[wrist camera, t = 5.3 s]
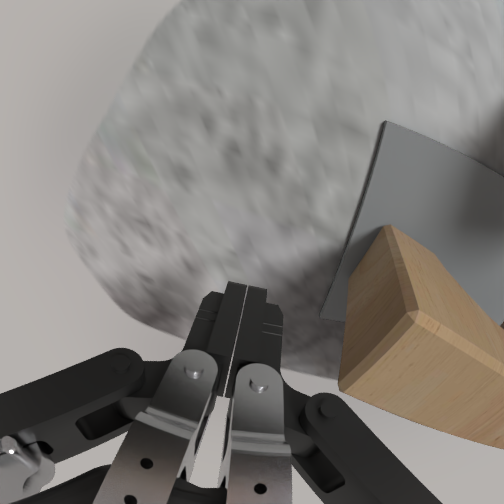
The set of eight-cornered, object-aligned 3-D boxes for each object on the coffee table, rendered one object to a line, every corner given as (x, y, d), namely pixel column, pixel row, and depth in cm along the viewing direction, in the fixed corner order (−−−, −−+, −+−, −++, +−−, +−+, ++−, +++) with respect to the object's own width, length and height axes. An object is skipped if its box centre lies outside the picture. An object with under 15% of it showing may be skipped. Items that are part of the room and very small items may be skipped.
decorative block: (385, 219, 18) (530, 329, 16) (344, 282, 21) (493, 370, 19) (417, 306, 9) (571, 411, 7) (332, 395, 12) (519, 456, 9)
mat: (555, 213, 15) (557, 215, 15) (488, 337, 23) (490, 339, 23) (385, 120, 16) (387, 121, 15) (319, 314, 24) (319, 318, 23)
